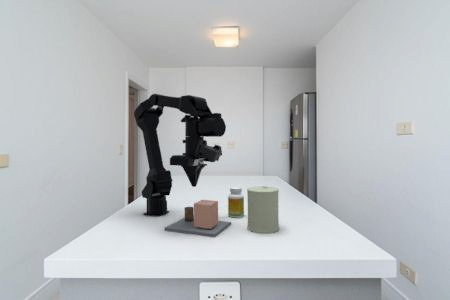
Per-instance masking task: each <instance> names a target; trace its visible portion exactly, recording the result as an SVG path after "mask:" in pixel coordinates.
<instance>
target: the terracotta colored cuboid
mask: <svg viewBox="0 0 450 300" xmlns="http://www.w3.org/2000/svg"><path fill="white" fill-rule="evenodd" d="M193 207H194V227H201V228H209V229H211V228H212V227H214V226H215V225H217V224H218V221H219V201H218V200H211V199H210V200H208V199H201V200H199V201H196V202H194V203H193Z"/></svg>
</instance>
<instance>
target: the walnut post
mask: <svg viewBox="0 0 450 300" xmlns="http://www.w3.org/2000/svg"><path fill="white" fill-rule="evenodd" d="M184 218H185V221H186V222H191V221H194V206H185V207H184Z"/></svg>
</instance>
